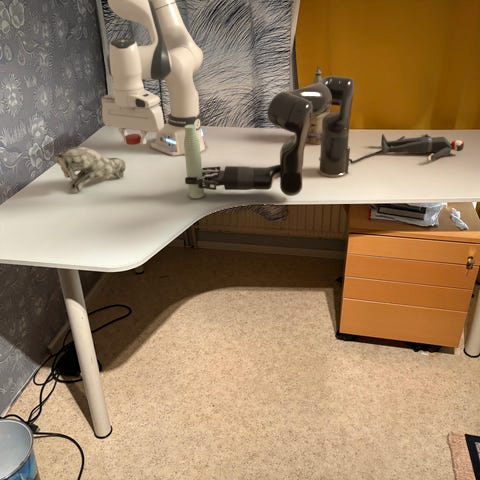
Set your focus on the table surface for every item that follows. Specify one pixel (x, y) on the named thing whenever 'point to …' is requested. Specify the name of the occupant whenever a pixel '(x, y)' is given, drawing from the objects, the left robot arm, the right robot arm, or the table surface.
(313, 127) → the miniature building
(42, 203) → the table surface
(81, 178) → the figurine
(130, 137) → the cap
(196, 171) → the bottle
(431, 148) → the toy
